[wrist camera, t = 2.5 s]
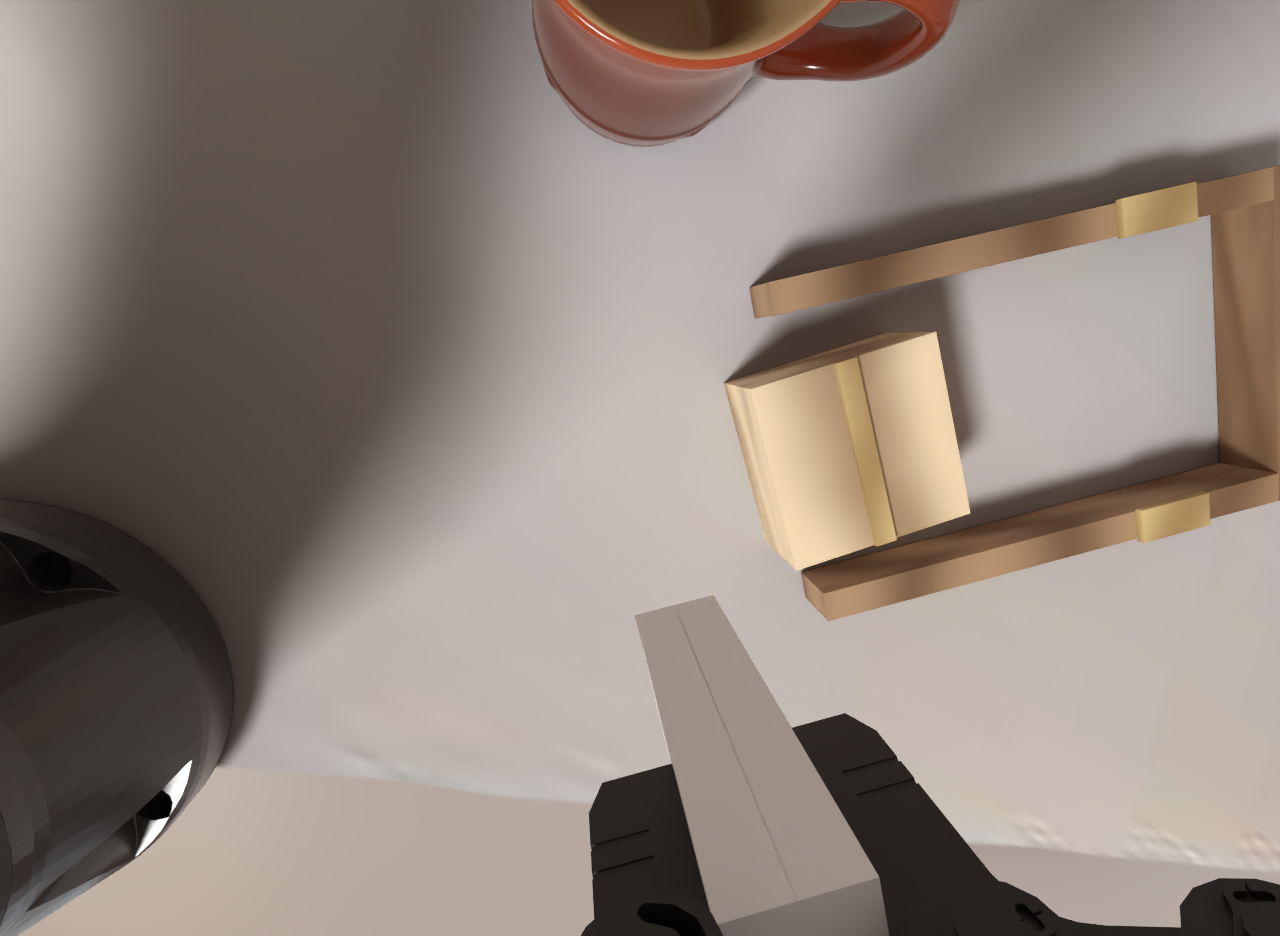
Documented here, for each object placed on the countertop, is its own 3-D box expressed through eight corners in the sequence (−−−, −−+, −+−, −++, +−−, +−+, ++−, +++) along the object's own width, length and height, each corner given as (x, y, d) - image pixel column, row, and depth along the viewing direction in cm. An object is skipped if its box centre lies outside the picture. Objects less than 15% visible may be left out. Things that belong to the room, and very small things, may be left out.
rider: (763, 539, 28) (798, 572, 24) (722, 382, 27) (751, 389, 23) (914, 489, 29) (973, 514, 25) (882, 332, 27) (939, 331, 23)
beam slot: (805, 599, 29) (831, 626, 26) (748, 285, 26) (770, 278, 23) (1244, 483, 30) (1312, 497, 28) (1235, 174, 27) (1310, 155, 25)
